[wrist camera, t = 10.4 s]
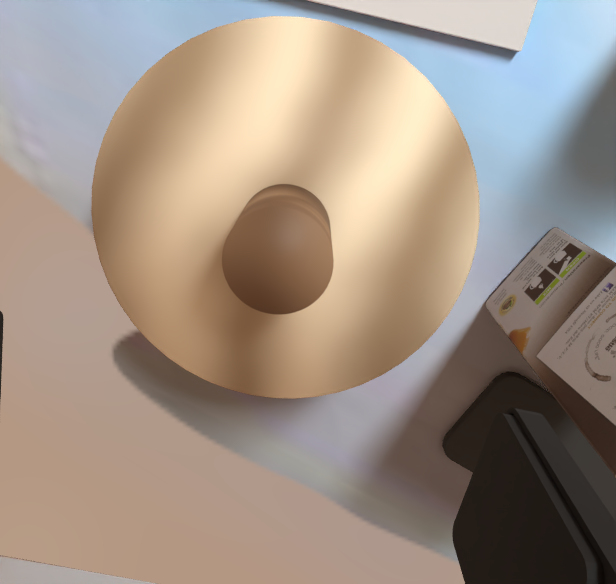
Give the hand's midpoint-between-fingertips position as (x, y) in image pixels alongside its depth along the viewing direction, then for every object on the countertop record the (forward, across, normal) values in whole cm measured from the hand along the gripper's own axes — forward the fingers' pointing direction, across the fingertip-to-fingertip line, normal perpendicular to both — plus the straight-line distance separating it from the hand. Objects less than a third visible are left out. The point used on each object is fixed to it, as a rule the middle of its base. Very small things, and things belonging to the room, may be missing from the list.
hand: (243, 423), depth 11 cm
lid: (+16, 0, 0) cm, 16 cm away
